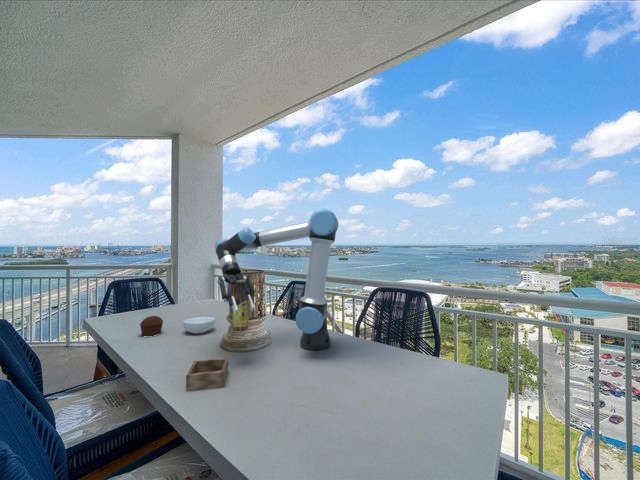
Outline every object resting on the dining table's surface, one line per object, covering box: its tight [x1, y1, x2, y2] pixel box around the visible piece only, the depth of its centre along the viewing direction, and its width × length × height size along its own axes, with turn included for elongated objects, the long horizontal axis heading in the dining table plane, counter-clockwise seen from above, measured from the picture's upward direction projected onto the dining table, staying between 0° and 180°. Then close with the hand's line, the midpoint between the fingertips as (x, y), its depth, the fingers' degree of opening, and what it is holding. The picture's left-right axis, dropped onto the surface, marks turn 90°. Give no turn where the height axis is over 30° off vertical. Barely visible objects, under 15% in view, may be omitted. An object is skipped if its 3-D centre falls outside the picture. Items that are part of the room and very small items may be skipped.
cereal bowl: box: [182, 316, 216, 335], centre depth 162 cm, size 17×17×7 cm
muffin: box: [139, 315, 164, 337], centre depth 157 cm, size 12×11×10 cm
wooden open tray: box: [185, 357, 229, 392], centre depth 101 cm, size 12×13×5 cm
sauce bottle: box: [232, 280, 250, 332], centre depth 115 cm, size 6×6×20 cm
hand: (244, 310), depth 112 cm, fingers closed on sauce bottle, 6 cm apart
